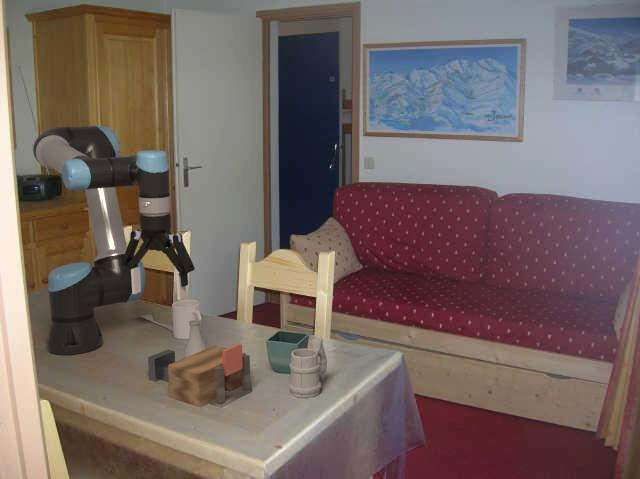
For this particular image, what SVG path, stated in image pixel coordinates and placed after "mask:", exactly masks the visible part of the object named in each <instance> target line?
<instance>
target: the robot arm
mask: <svg viewBox="0 0 640 479" xmlns="http://www.w3.org/2000/svg"><path fill="white" fill-rule="evenodd" d="M32 148H33V149H32V151H33V152H32V153H33V156H34V159H35V160H36V161H37V162H38V164H40V165H41V166H43V167H44V168H46V169H49V170H55V171H56V172H58V173H59V174H61V178H62V182H63V184H64V187H65V188H66V189H67V190H69V191H80V192H81V191H85V195H86V196H85V197H86V201H87V206H88V211H89V217H90V222H91V228H92V231H93V237H94V242H95V243H94V244H95V247H96V253H97V255H96V257H95V258H94V260H93V265H94V266H92V264H91V263H89V262H86V261H85V262H84V261H80V262H72V263H67V264H64V265H61V266H58V267H56V268H54V269H53V270H51V271H50V272H49V273H48V276H47V291H48V296H49V307H50V317H51V318H50V320H51V323H50V327H49V331H48V335H47V339H46V350H47V352H49V353H51V354H55V355H62V356H65V355H68V356H69V355H79V354H84V353H88V352H91V351H94V350H97V349H99V348H100V347H101V346H102V345H103V344H104V339H103V338H104V337H103V333H102V331H101V329H100V326H99V324H98V321H97V319H96V317H95V314H96V313H95V308H97V307H104V306H109V305H115V304H122V303H128V302H132V301H136V300H139V299H140V298H141V297H143V294H144V292H145V287H146V277H147V276H146V269H145V266H144V264H143V262H142V259H143V258H144V257H145V256H146V254H147V253H148V252H149V251H156V252H162V253H163V254H165V255H166V257H167V258H168V259H169V261H170V263H171V264H172V265H173V266H174V268H175V269H176V271H177V272H178V273H177V274H176V291H177V292H176V293H177V294H176V295H177V301H180V300H184V299H185V298H187V286H188V285H189V276H188V275H189V273H190V272H193V271H195V269H196V268H195V266H194V263H193V261H192V259H191V257H190V254H189V252H188V250H187V248H186V246H185V244H184V240H183V234H182V233H177V234H172V233H171V227H172V220H171V219H172V218H171V214H170V212H171V195H170V171H169V169H170V164H169V159H168V154H167V152H166V151H164V150H158V149H157V150H155V149H154V150H152V149H149V150H140V151H138V152H137V153H136V154H130V155H126V156H121V153H120V151H121V148H120V143H119V140H118V138H117V135H116V134H115V132H114V131H113V129H111V127H108V126H105V125H104V126H102V125H101V126H99V125H92V126H91V125H90V126H58V127H54V128H49V129H47V130H46V131H44V132H42V133H40V134H39V136H37V138H36V139H35V140H34V143H33V145H32ZM134 186H137V188H138V189H137V190H138V192H137V193H138V210H139V213H140V215H139V227H140V229H135V230H132V231H130V236H129V241H128V244H127V240H126V235H125V230H124V226H123V221H122V215H121V211H120V205H119V201H118V200H119V199H118V196H117V190H116V188H123V187H134ZM140 240H142V243H141V245H140V246H139V249H138V250H137V248H138V245H139V244H140ZM136 250H137V251H136Z"/></svg>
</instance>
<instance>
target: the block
mask: <svg viewBox="0 0 640 479" xmlns="http://www.w3.org/2000/svg"><path fill="white" fill-rule="evenodd" d="M227 348H228V347H224V346H221V345H220V346H219V345H212V346H210V347H207V349H205V350H203V351H201V352H198V353H196V354H193V355H191V356H188V357H186V358H184V359H183V358H181V359H179V360H177V361H176V360H175V362H174V363H172V364H169V365H168V376H169V383H168V389H169V390H168V391H169V398H171V399H173V400H177V401H180V402H183V403H186V404H188V405H189V404H190V405H193V406H196V407H199V408H202V407H204V406H206V405H208V404H209V405H212V406H215V407H218V408H223V407H225V406H227V405H229V404H230V403H232V402H234V401H236V400H238V399H240V398H242V397H245V396H246V395H248V394H250V393H252V392H253V388H251V386H252V385H251V358H250V355H249V354H246V352H243V351H242V363H243V369H241V370H238V371H236V372H234V373H232V374H230V375H228V376H224V367H223V355H222V350H224V349H227ZM226 390H228V392H226Z"/></svg>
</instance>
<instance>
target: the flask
mask: <svg viewBox="0 0 640 479" xmlns="http://www.w3.org/2000/svg"><path fill="white" fill-rule="evenodd" d="M200 322H201V323H202V320H201V321H200V320H191V321H189V325H190V335H189V339H187V343H186V346H185V349H184V353H183V357H182V359H184V358H186V357H188V356H191V355H193V354H196V353H198V352H201V351H203V350H205V349H208V347H207V344H206V342H205V340H204V338H203V335H202V330H201V331H200Z"/></svg>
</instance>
